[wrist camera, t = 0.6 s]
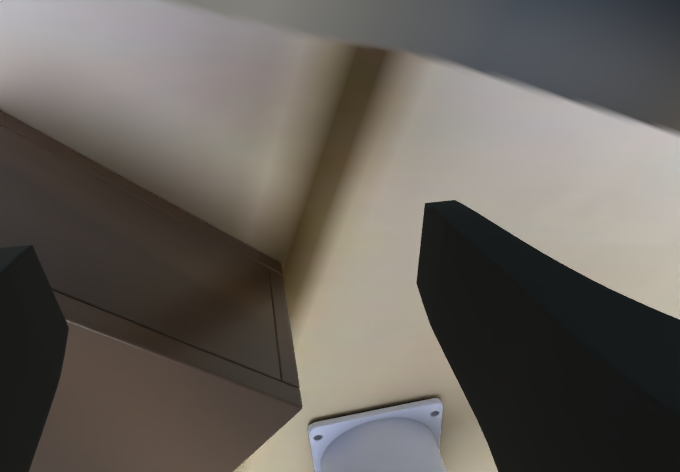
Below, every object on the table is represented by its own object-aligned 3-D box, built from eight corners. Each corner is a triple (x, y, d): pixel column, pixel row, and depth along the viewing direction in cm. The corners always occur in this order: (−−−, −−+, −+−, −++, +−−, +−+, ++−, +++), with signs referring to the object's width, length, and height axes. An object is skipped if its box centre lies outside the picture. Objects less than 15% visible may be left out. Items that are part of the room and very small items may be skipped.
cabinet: (124, 434, 27) (95, 597, 21) (-154, 355, 21) (-309, 552, 15) (281, 263, 22) (303, 408, 16) (-17, 101, 16) (-158, 234, 10)
